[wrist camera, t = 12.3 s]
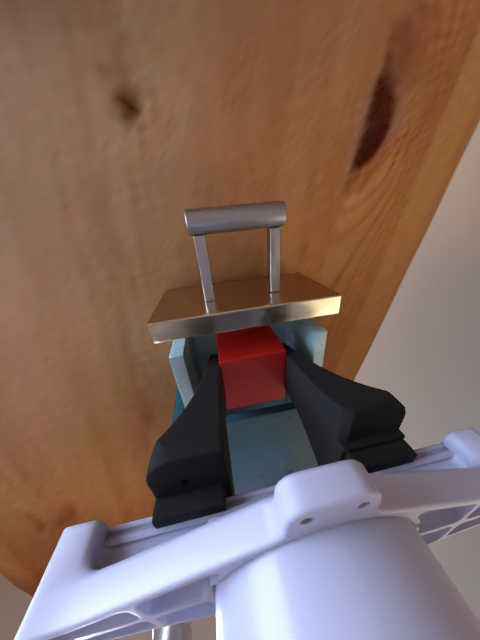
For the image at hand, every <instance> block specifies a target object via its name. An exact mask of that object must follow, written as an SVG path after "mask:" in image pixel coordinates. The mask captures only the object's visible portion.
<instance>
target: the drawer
mask: <svg viewBox="0 0 480 640" xmlns="http://www.w3.org/2000/svg"><path fill="white" fill-rule="evenodd" d="M184 213H185V220H186V225H187V230H188V233H189V236H194V237H193V238H194V243H195V249H196V254H197V259H198V265H199V270H200V276H201V281H202V285H198V286H190V287H183V288H175V289H168V290H166V291H165V292H164V294H163V296H162V298H161V299H160V301H159V303H158V305H157V306H156V308H155V310H154V312H153V313H152V315H151V317H150V319H149V320H148V322H147V327H148V330H149V333H150V336H151V339H152V341H153V343H158V342H164V341H170V340H173V344H172V348H171V351H170V355H169V360H170V363H171V367H172V370H173V373H174V376H175V379H176V382H177V385H178V388H179V391H180V394H181V397H182V400H183V403H184V406H185V408H186V406H187V405H188V403H189V402H190V400H191V399H192V397H193V395H194V393H195V392H196V390H197V388H198V386H199V384H200V382H201V380H202V378H203V375H204V373H205V370H206V367H207V364H208V361H209V357H210V355H214V354H218V348H217V338H216V333H221V332H228V331H234V330H240V329H246V328H252V327H259V326H265V325H270V327H271V328H272V330H273V331H274V333H275V335H276V336H277V338H278V339H279V341H280V342H281V343H285V344H287V345H288V346H289V347H291V348H292V349H294V350H295V351H296V352H298V353H299V354H301V355H302V356H304V357H305V358H307V359H308V360H310V361H312V362H313V363H315V364H317V365H318V366H320V367H322V366H323V359H324V352H325V345H326V338H327V330H326V329H325V328H323V327H322V326H321V325H320V324H319V323H318V322H317V321H315V320H314V319H313V318H314V317H320V316H326V315H332V314H338V313H339V310H340V304H341V298H342V295H341V294H340V293H338V292H336V291H334V290H332V289H330V288H328V287H326V286H324V285H322V284H320V283H318V282H316V281H315V280H313V279H311V278H309V277H307V276H305V275H303V274H301V273H299V272H295V273H288V274H280V227H281V226H283V225H284V224H285V221H286V214H287V211H286V204H285V202H284V201H273V202H261V203H250V204H239V205H228V206H217V207H206V208H195V209H185V210H184ZM262 228H267V252H268V276H265V277H258V278H250V279H243V280H235V281H228V282H220V283H213V282H212V275H211V269H210V263H209V256H208V250H207V244H206V237H205V235H206V234H215V233H224V232H234V231H243V230H253V229H262ZM289 402H292V400H291V398H290V396H289V394H288V393H287V391H286V389H285V398H283V399H278V400H273V401H268V402H263V403H258V404H253V405H248V406H243V407H238V408H233V409H227V405H226V416H227V415H231V414H236V413H241V412H246V411H251V410H256V409H260V408H265V407H270V406H275V405H280V404H285V403H289Z"/></svg>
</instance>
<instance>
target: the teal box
mask: <svg viewBox="0 0 480 640" xmlns="http://www.w3.org/2000/svg"><path fill="white" fill-rule="evenodd" d="M184 409H185V406H184V403H183V400H182V397H181V394H180V391H179V388H178V390H177V396H176V402H175V408H174V414H173V421H172V424H173V423H174V422H175V421H176V419H177V418H178V417H179V416H180V414H181V413H182V412H183V410H184ZM226 425H227V434H228V442H229V451H230V459H231V467H232V475H233V483H234V490H235V495H239V494H243V493H247V492H250V491H254V490H258V489H262V488H266V487H270V486H274V485H277V483H278V481H280V480H281V479H282V478H284V477H285V476H287V475H289V474H292V473H295V472H298V471H302V470H306V469H310V468H314V467H318V463H317V460H316V458H315V455H314V452H313V450H312V447H311V444H310V442H309V439H308V436H307V434H306V431H305V429H304V426H303V424H302V421H301V419H300V417H299V414H298V412H297V410H296V408H295V406H294V404H293V402H289V403H285V404H280V405H275V406H270V407H265V408H260V409H256V410H251V411H246V412H241V413H236V414H231V415H227V416H226Z"/></svg>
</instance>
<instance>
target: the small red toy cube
mask: <svg viewBox="0 0 480 640" xmlns="http://www.w3.org/2000/svg"><path fill="white" fill-rule="evenodd" d="M216 338H217V348H218V358H219V366H220V371H221V377H222V382H223V388H224V394H225V400H226V405H227V409H233V408H238V407H243V406H248V405H253V404H258V403H263V402H268V401H273V400H278V399H283V398H285V374H286V350H285V349H284V347H283V345H282V344H281V342H280V341H279V339H278V338H277V336H276V335H275V333H274V331H273V330H272V328H271V327H270V325H265V326H259V327H252V328H246V329H240V330H234V331H228V332H221V333H216Z"/></svg>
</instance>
